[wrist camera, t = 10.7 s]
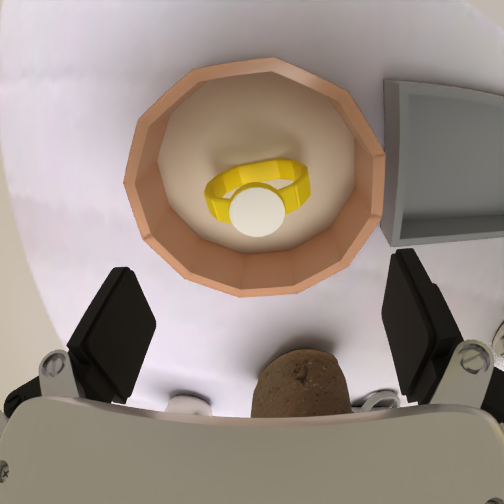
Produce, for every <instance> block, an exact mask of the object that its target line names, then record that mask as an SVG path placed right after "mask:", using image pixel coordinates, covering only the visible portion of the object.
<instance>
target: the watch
mask: <svg viewBox="0 0 504 504" xmlns="http://www.w3.org/2000/svg"><path fill="white" fill-rule="evenodd" d="M276 179H285V180H291V181H294V182H293V183H292V184H290V185H288V186H285V187H283V188H281V189H278V190H277V189H276V188H274V187H272V186H271V185H269V184H266V183H262V182H264V181H270V180H276ZM240 186H241V187H240ZM238 187H240V188H238ZM236 188H238V189H237V190H236V191H235V192H234V194H233V195H232V197H231V199H229V198H222V197H223V196H224V195H225V194H226V193H228V192H230V191H232V190H234V189H236ZM204 196H205V199H206V203H207V206H208V209H209V212H210V214H211V215H212V216H213V217H215V218H216V219H217V220H218V221H220V222H225V223H231V224H232V225H233V226H234V227H235V228H236V229H237V230H238V231H240V232H241V233H243V234H245V235H248V236H252V237H263V236H266V235H269V234H271V233H273V232H274V231H276V230H277V229H278V228H279V227H280V226H281V224H282V223H283V220H284V217H285V215H287V214H289V213H291V212H293V211H295V210H297V209H298V208H300V207H301V206H302V205H303V204H304V203H305V202H306V201H307V200H308V198H309V197H310V196H311V187H310V180H309V174H308V167H307V166H306V165H304V164H302V163H300V162H299V161H297V160H294V159H284V158H275V159H272V160H266V161H261V162H255V163H250V164H245V165H239V166H234V167H232V168H230V169H228V170H226V171H223V172H221V173H220V174H218V175H216V176H215V177H214V178H213V179H212V180H210V181H209V182H208V183H207V184H206V187H205V190H204Z"/></svg>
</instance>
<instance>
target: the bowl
mask: <svg viewBox="0 0 504 504" xmlns="http://www.w3.org/2000/svg"><path fill="white" fill-rule="evenodd" d="M275 158H284V159H294V160H297V161H299V162H300V163H302V164H304V165H306V166H307V167H308V174H309V180H310V187H311V196H310V197H309V198H308V200H307V201H306V202H305V203H304V204H303V205H302V206H301V207H300V208H298V209H297V210H295V211H293V212H291V213H289V214H287V215H285V217H284V220H283V223H282V224H281V226H280V227H279V228H278V229H277V230H276V231H274V232H273V233H271V234H269V235H266V236H263V237H252V236H248V235H245V234H243V233H241V232H240V231H238V230H237V229H236V228H235V227H234V226H233V225H232V224H231V223H225V222H220V221H218V220H217V219H216V218H215V217H213V216H212V215H211V214H210V212H209V209H208V206H207V203H206V199H205V196H204V190H205V187H206V184H207V183H208V182H209V181H210V180H212V179H213V178H214V177H215V176H216V175H218V174H220V173H221V172H223V171H226V170H228V169H230V168H232V167H234V166H239V165H245V164H250V163H255V162H261V161H266V160H272V159H275ZM384 180H385V152H384V150H383V149H382V147H381V145H380V143H379V141H378V140H377V138H376V136H375V134H374V133H373V131H372V129H371V128H370V126H369V124H368V122H367V121H366V119H365V118H364V116H363V114H362V113H361V111H360V109H359V108H358V106H357V105H356V103H355V102H354V100H353V98H352V97H351V95H350V94H349V92H348V91H346V90H344V89H342V88H340V87H338V86H336V85H335V84H333V83H331V82H329V81H327V80H325V79H322V78H320V77H318V76H316V75H314V74H312V73H310V72H308V71H305V70H303V69H301V68H299V67H297V66H294V65H292V64H290V63H287V62H285V61H282V60H280V59H278V58H275V57H269V58H260V59H252V60H244V61H237V62H230V63H224V64H218V65H213V66H207V67H202V68H197V69H192V70H191V71H190V72H189V73H188V74H187V75H185V76H184V77H183V78H182V79H181V80H180V81H178V82H177V83H176V84H175V85H174V86H173V87H172V88H171V89H170V90H168V91H167V92H166V93H165V94H164V95H163V96H162V97H161V98H160V99H159V100H158V101H157V102H156V103H154V104H153V105H152V106H151V107H150V108H149V109H148V110H147V111H146V112H145V113H144V114H143V115H142V116H141V117H140V118H139V119H138V122H137V125H136V129H135V133H134V137H133V141H132V145H131V149H130V154H129V158H128V162H127V167H126V172H125V176H124V181H123V184H124V187H125V190H126V193H127V196H128V199H129V202H130V205H131V208H132V211H133V214H134V217H135V220H136V223H137V225H138V228H139V231H140V234H141V237H142V239H143V240H144V241H145V242H146V243H147V244H148V245H149V246H150V247H151V248H152V249H153V250H154V251H155V252H156V253H157V254H158V255H160V256H161V257H162V258H163V259H164V260H165V261H166V262H167V263H168V264H169V265H170V266H171V267H172V268H173V269H175V270H176V271H177V272H178V273H179V274H180V275H181V276H182V277H183V278H184V279H187V280H189V281H192V282H195V283H198V284H201V285H204V286H207V287H210V288H212V289H215V290H218V291H221V292H224V293H227V294H230V295H233V296H236V297H239V298H240V297H256V296H271V295H285V294H297V293H299V292H301V291H303V290H305V289H307V288H309V287H311V286H313V285H314V284H316V283H318V282H320V281H322V280H324V279H326V278H328V277H330V276H331V275H333V274H335V273H337V272H339V271H341V270H343V269H344V268H346V267H348V266H349V265H350V263H351V262H352V260H353V259H354V258H355V256H356V255H357V253H358V252H359V251H360V249H361V248H362V246H363V245H364V243H365V242H366V241H367V239H368V238H369V236H370V235H371V233H372V232H373V230H374V229H375V227H376V226H377V224H378V223H379V221H380V220H381V218H382V211H383V197H384ZM293 182H294V181H291V180H285V179H276V180H270V181H264V182H262V183H266V184H269V185H271V186H272V187H274V188H276V189H277V190H278V189H281V188H283V187H285V186H288V185H290V184H292V183H293ZM240 187H241V186H240ZM240 187H238V188H240ZM238 188H236V189H234V190H232V191H230V192H228V193H226V194H225V195H224V196H223V197H222V198H229V199H231V197H232V195H233V194H234V192H235V191H236V190H237V189H238Z"/></svg>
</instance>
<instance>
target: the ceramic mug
mask: <svg viewBox="0 0 504 504" xmlns="http://www.w3.org/2000/svg"><path fill="white" fill-rule="evenodd" d="M384 398H392V399H394V404H393V406H392V408H387V407H374V408H372V407H373V405H375V404H376V403H377V402H379V401H380V400H382V399H384ZM399 407H400V401H399V398H398V397H397V395H396V394H395V393H394V392H392V391H381V392H378V393H376V394H374V395H372V396H371V397H370V398H369V399H368V400H367V401H366V402H365V403H364V405H363V406H362V407H351V408H352V413H362V412H371V411H379V410H386V409H393V408H399Z"/></svg>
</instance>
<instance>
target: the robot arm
mask: <svg viewBox="0 0 504 504" xmlns="http://www.w3.org/2000/svg"><path fill="white" fill-rule="evenodd" d="M382 320H383V324H384V327H385V331H386V334H387V338H388V342H389V345H390V349H391V353H392V357H393V361H394V365H395V369H396V373H397V377H398V381H399V386H400V390H401V394H402V395H403V396H404V395H406V397H407V401H408V403H411V402H416V401H418V405H416V406H409V407H400V408H393V409H386V410H379V411H371V412H362V413H351V414H341V415H330V416H315V417H293V418H238V417H216V416H201V415H189V414H179V413H170V412H161V411H153V410H146V409H139V408H133V407H127V406H121V405H116V404H111V402H112V401H113V402H114V403H120V404H126V401H127V398H128V397H130V396H131V394H132V392H133V389H134V386H135V383H136V380H137V377H138V375H139V372H140V369H141V366H142V364H143V361H144V358H145V355H146V353H147V350H148V347H149V345H150V342H151V339H152V337H153V334H154V332H155V329H156V320H155V317H154V315H153V313H152V311H151V309H150V307H149V305H148V302H147V300H146V298H145V296H144V294H143V291H142V289H141V287H140V285H139V282H138V280H137V278H136V275H135V273H134V272H133V271H132V270H130V268H128V267H115V268H113V269H112V270H111V272H110V274H109V275H108V277H107V278H106V280H105V281H104V283H103V284H102V286H101V288H100V289H99V291H98V292H97V294H96V296H95V297H94V299H93V300H92V302H91V304H90V305H89V307H88V309H87V310H86V312H85V314H84V315H83V317H82V319H81V321H80V322H79V324H78V326H77V327H76V329H75V331H74V333H73V335H72V336H71V338H70V340H69V342H68V343H67V345H66V346H67V347H68V348H69V351H68V353H67V352H65V351H64V350H55V351H52V352H50V353H49V354H47V355H46V356H45V357H44V358H43V360H42V361H41V363H40V366H39V376H37V377H36V378H34V379H32V380H31V381H29V382H27V383H26V384H24V385H22V386H21V387H19V388H17V389H16V390H14V391H13V392H11V393H10V394H9V395H8V396H7V398H6V400H5V403H4V412H3V411H2V410H0V504H504V371H502V370H500V369H498V368H496V367H494V357H493V354H492V352H491V350H490V349H489V348H488V347H487V346H486V345H485V344H483V343H482V342H480V341H477V340H466V341H464V340H463V337H462V335H461V333H460V331H459V328H458V326H457V324H456V322H455V320H454V318H453V316H452V313H451V311H450V309H449V307H448V305H447V303H446V301H445V299H444V297H443V295H442V293H441V291H440V289H439V288H438V286H437V285H436V284H434V283H433V284H432V282H431V280H430V278H429V276H428V274H427V272H426V271H425V269H424V267H423V265H422V263H421V261H420V260H419V258H418V256H417V254H416V253H415V251H414V249H413V248H406V249H397V250H396V253H395V254H392V255H391V259H390V266H389V272H388V278H387V284H386V289H385V295H384V300H383V305H382ZM493 350H494V353H495V355H496V356H498V357H504V323H503V325H502V326H501V327H500V329H499V330H498V332H497V334H496V336H495V338H494V341H493Z"/></svg>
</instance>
